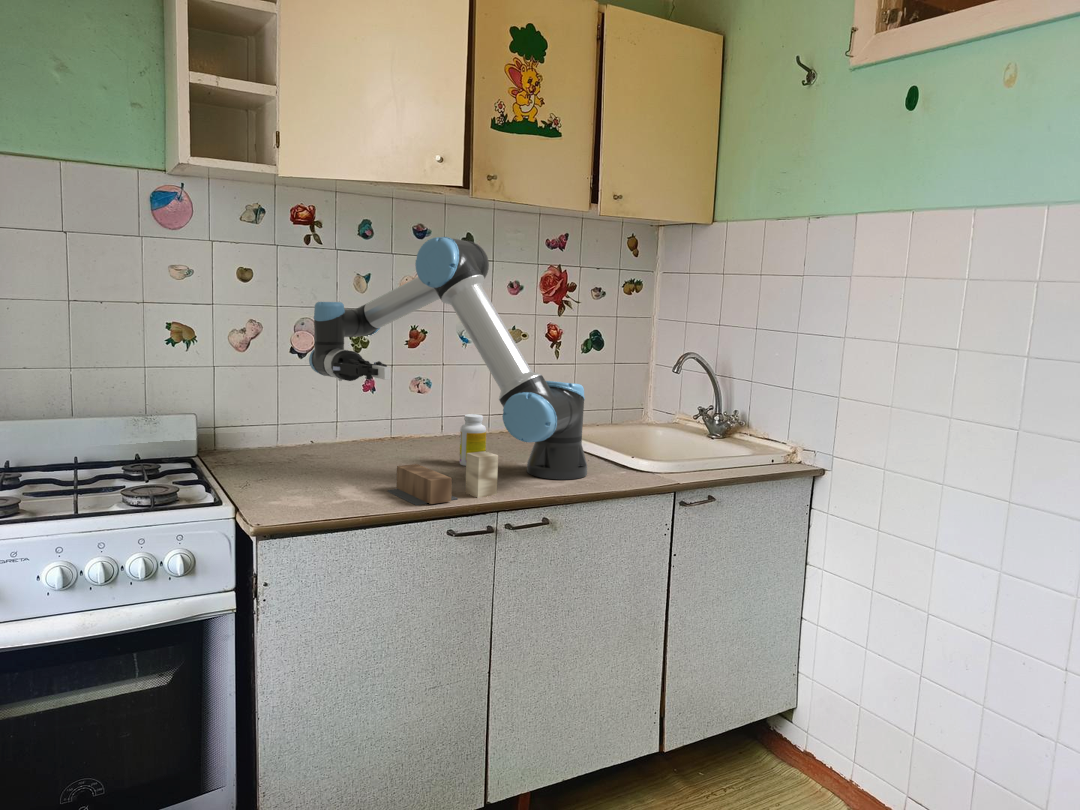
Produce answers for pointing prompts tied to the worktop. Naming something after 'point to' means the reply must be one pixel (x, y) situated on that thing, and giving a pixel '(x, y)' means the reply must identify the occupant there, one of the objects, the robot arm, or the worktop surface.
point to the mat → (411, 497)
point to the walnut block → (424, 483)
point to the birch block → (481, 474)
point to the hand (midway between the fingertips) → (387, 373)
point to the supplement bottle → (472, 436)
